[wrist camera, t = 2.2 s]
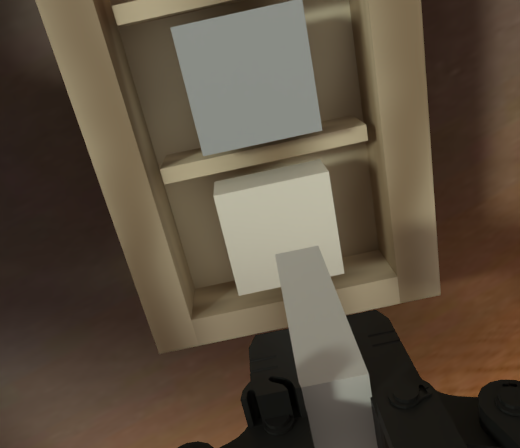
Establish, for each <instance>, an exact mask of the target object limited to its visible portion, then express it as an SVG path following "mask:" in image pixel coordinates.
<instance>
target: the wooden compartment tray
mask: <svg viewBox="0 0 520 448" xmlns="http://www.w3.org/2000/svg"><path fill="white" fill-rule="evenodd" d="M35 1H36V3H37V6H38V9H39V12H40V15H41V18H42V21H43V23H44V26H45V29H46V32H47V35H48V38H49V41H50V43H51V46H52V49H53V52H54V55H55V58H56V61H57V63H58V66H59V69H60V72H61V75H62V78H63V81H64V84H65V86H66V89H67V92H68V95H69V98H70V101H71V104H72V106H73V109H74V112H75V115H76V118H77V121H78V124H79V126H80V129H81V132H82V135H83V138H84V141H85V144H86V146H87V149H88V152H89V155H90V158H91V161H92V164H93V167H94V169H95V172H96V175H97V178H98V181H99V184H100V187H101V189H102V192H103V195H104V198H105V201H106V204H107V207H108V209H109V212H110V215H111V218H112V221H113V224H114V227H115V229H116V232H117V235H118V238H119V241H120V244H121V247H122V250H123V252H124V255H125V258H126V261H127V264H128V267H129V270H130V272H131V275H132V278H133V281H134V284H135V287H136V290H137V292H138V295H139V298H140V301H141V304H142V307H143V310H144V313H145V315H146V318H147V321H148V324H149V327H150V330H151V333H152V335H153V338H154V341H155V344H156V347H157V350H158V353H159V354H162V353H167V352H172V351H176V350H181V349H186V348H191V347H196V346H200V345H205V344H210V343H215V342H219V341H224V340H229V339H234V338H238V337H243V336H248V335H253V334H257V333H262V332H267V331H272V330H276V329H281V328H286V327H288V322H287V317H286V311H285V306H284V300H283V295H282V290H281V287H279V288H274V289H269V290H264V291H260V292H255V293H250V294H245V295H241V296H239V295H238V291H237V287H236V283H235V279H234V275H233V271H232V267H231V263H230V259H229V256H228V252H227V248H226V244H225V240H224V236H223V232H222V228H221V224H220V220H219V216H218V213H217V209H216V205H215V201H214V197H213V194H214V182H216V181H221V180H225V179H230V178H235V177H239V176H244V175H248V174H253V173H258V172H262V171H267V170H272V169H276V168H281V167H285V166H290V165H295V164H299V163H304V162H309V161H313V160H318V159H320V160H321V161H322V163H323V164H324V165H325V167H326V168H327V170H328V171H329V176H330V183H331V189H332V196H333V202H334V209H335V215H336V222H337V228H338V235H339V241H340V248H341V254H342V261H343V267H344V274H340V275H335V276H331V279H332V282H333V284H334V287H335V289H336V292H337V294H338V297H339V300H340V302H341V305H342V307H343V310H344V312H345V315H348V314H353V313H357V312H362V311H367V310H372V309H376V308H381V307H386V306H391V305H395V304H400V303H405V302H410V301H415V300H419V299H424V298H429V297H434V296H438V295H441V290H440V275H439V260H438V246H437V231H436V216H435V201H434V186H433V171H432V156H431V141H430V126H429V112H428V97H427V82H426V67H425V52H424V37H423V22H422V7H421V0H302V1H303V7H304V14H305V20H306V27H307V33H308V40H309V46H310V53H311V59H312V66H313V72H314V79H315V85H316V92H317V98H318V105H319V111H320V118H321V124H322V131H318V132H313V133H309V134H304V135H299V136H295V137H290V138H286V139H281V140H276V141H272V142H267V143H263V144H258V145H253V146H249V147H244V148H239V149H235V150H230V151H226V152H221V153H216V154H212V155H207V156H203V154H202V150H201V146H200V142H199V138H198V134H197V130H196V127H195V123H194V119H193V115H192V111H191V107H190V103H189V99H188V95H187V91H186V87H185V84H184V80H183V76H182V72H181V68H180V64H179V60H178V56H177V52H176V48H175V44H174V41H173V37H172V33H171V29H170V27H175V26H179V25H184V24H188V23H193V22H197V21H202V20H206V19H211V18H215V17H220V16H224V15H229V14H233V13H238V12H242V11H247V10H251V9H256V8H260V7H265V6H270V5H274V4H279V3H283V2H288V1H292V0H35Z"/></svg>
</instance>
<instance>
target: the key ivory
mask: <svg viewBox="0 0 520 448" xmlns="http://www.w3.org/2000/svg"><path fill="white" fill-rule="evenodd" d="M213 197H214V201H215V205H216V209H217V213H218V216H219V220H220V224H221V228H222V232H223V236H224V240H225V244H226V248H227V252H228V256H229V259H230V263H231V267H232V271H233V275H234V279H235V283H236V287H237V291H238V295H239V296H241V295H245V294H250V293H255V292H260V291H264V290H269V289H274V288H279V287H281V284H280V279H279V274H278V268H277V263H276V257H275V254H279V253H284V252H289V251H294V250H299V249H304V248H308V247H313V246H319V249H320V251H321V254H322V256H323V259H324V261H325V264H326V267H327V269H328V272H329V274H330V277H331V276H335V275H340V274H344V267H343V261H342V254H341V248H340V241H339V235H338V228H337V222H336V215H335V209H334V202H333V196H332V189H331V183H330V176H329V171H328V170H327V168H326V167H325V165H324V164H323V163H322V161H321V160H320V159H318V160H313V161H309V162H304V163H299V164H295V165H290V166H285V167H281V168H276V169H272V170H267V171H262V172H258V173H253V174H248V175H244V176H239V177H235V178H230V179H225V180H221V181H216V182H214V194H213Z"/></svg>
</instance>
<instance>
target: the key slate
mask: <svg viewBox="0 0 520 448" xmlns="http://www.w3.org/2000/svg"><path fill="white" fill-rule="evenodd" d="M170 29H171V33H172V37H173V41H174V44H175V48H176V52H177V56H178V60H179V64H180V68H181V72H182V76H183V80H184V84H185V87H186V91H187V95H188V99H189V103H190V107H191V111H192V115H193V119H194V123H195V127H196V130H197V134H198V138H199V142H200V146H201V150H202V154H203V156H207V155H212V154H216V153H221V152H226V151H230V150H235V149H239V148H244V147H249V146H253V145H258V144H263V143H267V142H272V141H276V140H281V139H286V138H290V137H295V136H299V135H304V134H309V133H313V132H318V131H322V124H321V118H320V111H319V105H318V98H317V92H316V85H315V79H314V72H313V66H312V59H311V53H310V46H309V40H308V33H307V27H306V20H305V14H304V7H303V1H302V0H292V1H288V2H283V3H279V4H274V5H270V6H265V7H260V8H256V9H251V10H247V11H242V12H238V13H233V14H229V15H224V16H220V17H215V18H211V19H206V20H202V21H197V22H193V23H188V24H184V25H179V26H175V27H170Z"/></svg>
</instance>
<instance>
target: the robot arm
mask: <svg viewBox="0 0 520 448" xmlns="http://www.w3.org/2000/svg"><path fill="white" fill-rule="evenodd" d="M275 257H276V263H277V268H278V274H279V279H280V284H281V290H282V295H283V300H284V306H285V311H286V317H287V322H288V327H289V329H285V330H280V331H275V332H270V333H265V334H260V335H255V337H254V339H253V341H252V343H251V345H250V347H249V357H250V373H251V374H250V377H251V382H249V383H248V385H247V386H246V387H245V389H244V390H243V392H242V396H241V402H242V406H243V410H244V413H245V417H246V420H247V424H248V427H247V428H246V430H245V431H244V432H243V433H242V434H241V435H240V436H239V437H238V438H236V439H235V440H233V441H231V442H230V443H228V444H226V445H224V446H222V447H220V448H520V381H516V380H498V381H494V382H490V383H488V384H487V385H485V386H484V387H482V389H481V391H480V393H479V395H478V397H461V396H452V395H447V394H443V393H440V392H438V391H436V390H435V389H434V388H433V387H432V386H431V385H430V384H429V383H428V382H426V381H424V380H422V379H421V378H420V376H419V374H418V372H417V370H416V368H415V367H414V365H413V363H412V361H411V359H410V357H409V355H408V354H407V352H406V350H405V348H404V346H403V344H402V342H400V339H399V337H398V335H397V333H396V332H395V329H394V328H393V326H392V324H391V322H390V320H389V318H387V317H386V316H384V315H383V314H381V313H380V312H379V311H377V310H372V311H367V312H363V313H358V314H353V315H348V316H346V315H345V312H344V310H343V307H342V305H341V302H340V300H339V297H338V294H337V292H336V289H335V287H334V284H333V282H332V279H331V277H330V274H329V272H328V269H327V267H326V264H325V261H324V259H323V256H322V254H321V251H320V249H319V246H313V247H308V248H304V249H299V250H294V251H289V252H284V253H279V254H275ZM178 448H213V447H212V446H211V445H209V444H208V443H203V442H192V443H186V444H184V445H182V446H180V447H178Z"/></svg>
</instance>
